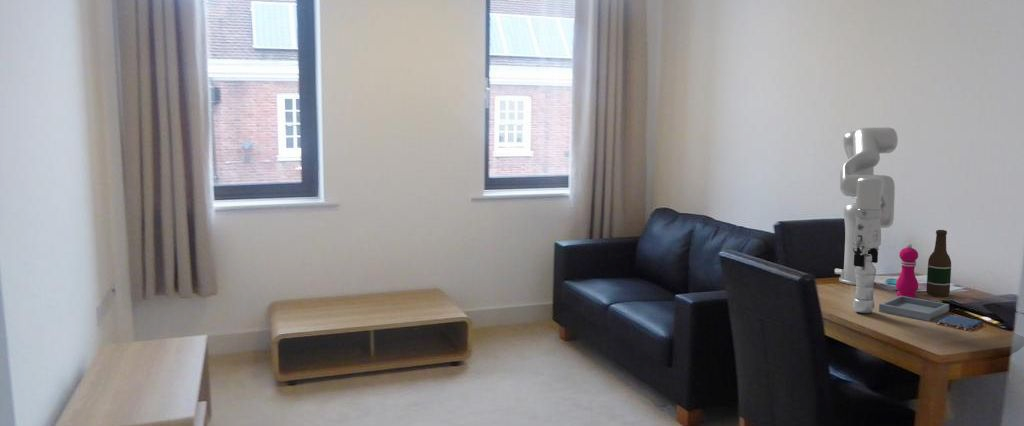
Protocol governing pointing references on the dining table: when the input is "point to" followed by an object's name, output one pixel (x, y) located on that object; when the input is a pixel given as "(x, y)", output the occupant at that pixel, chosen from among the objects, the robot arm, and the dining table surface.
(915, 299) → the tray
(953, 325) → the woven mat
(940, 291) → the beer bottle
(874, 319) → the dining table surface
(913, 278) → the pepper mill
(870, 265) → the plastic bottle
